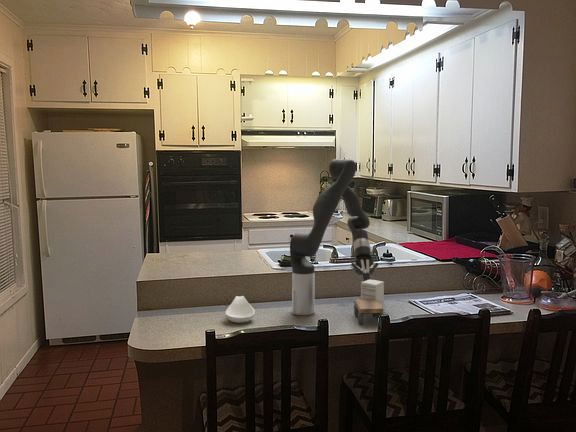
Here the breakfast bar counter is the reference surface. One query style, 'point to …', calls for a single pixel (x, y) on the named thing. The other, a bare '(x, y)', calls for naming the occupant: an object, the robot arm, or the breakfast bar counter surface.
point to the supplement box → (373, 291)
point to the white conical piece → (240, 310)
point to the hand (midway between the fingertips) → (366, 281)
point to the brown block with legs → (367, 308)
